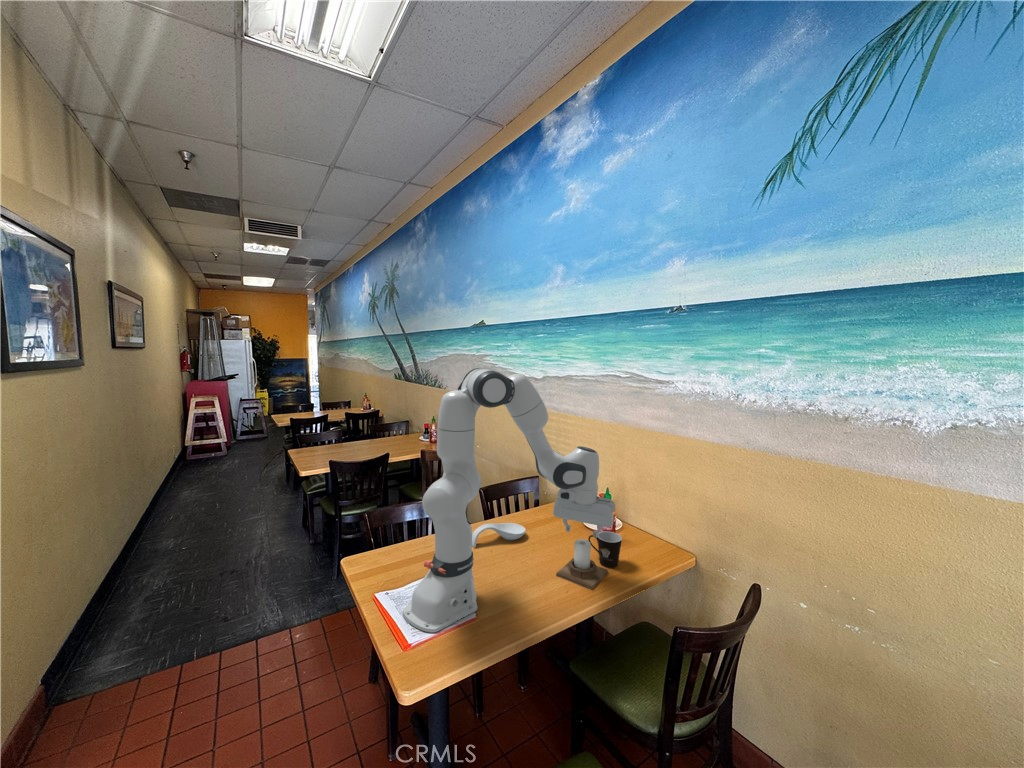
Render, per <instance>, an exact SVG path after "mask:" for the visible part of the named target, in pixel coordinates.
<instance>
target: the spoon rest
mask: <svg viewBox="0 0 1024 768" xmlns="http://www.w3.org/2000/svg"><path fill="white" fill-rule="evenodd" d="M487 530H492V531H494V532H495V533H497V534H498V535H499V536H501V538H503V540H505V541H516V540H518V539H520V538H522V537H523V536H524V535H525V534H526V531H527V529H526V527H524V526H523V525H521V524H519V523H514V522H501V523H484V524H482V525H480V526H478V527H477V528H476V529H475V530H474V531H472V548H474V549H475V548H476V547H477V540H478V538H479V535H480V534H481V533H483V532H484V531H487Z"/></svg>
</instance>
